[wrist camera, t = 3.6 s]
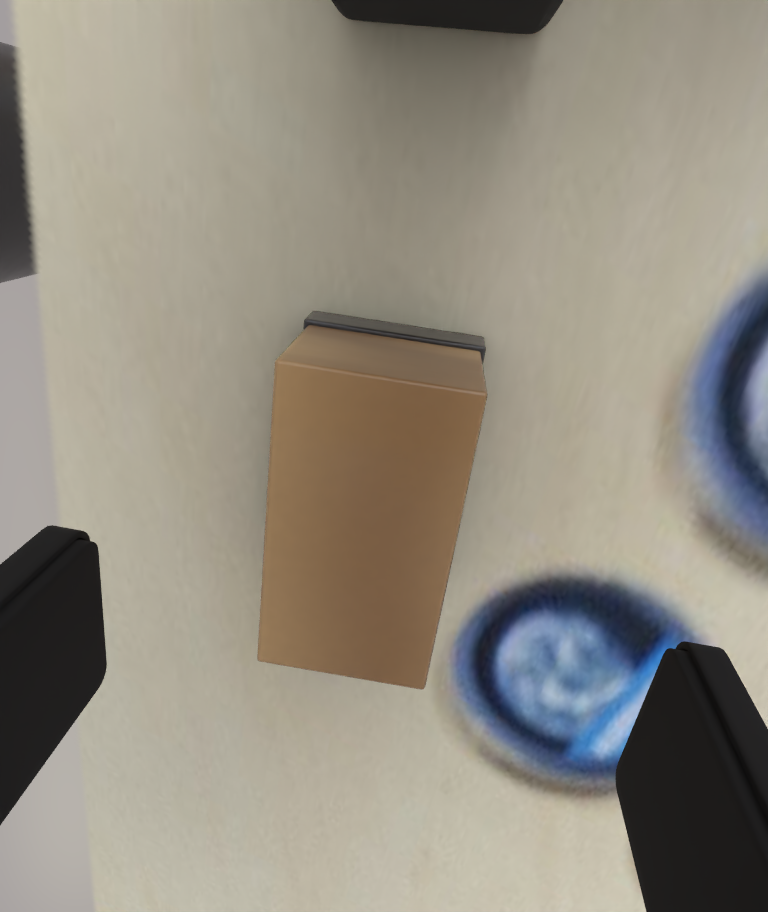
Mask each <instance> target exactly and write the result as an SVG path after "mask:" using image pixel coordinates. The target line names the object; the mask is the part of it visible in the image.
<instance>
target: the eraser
mask: <svg viewBox="0 0 768 912" xmlns="http://www.w3.org/2000/svg"><path fill="white" fill-rule="evenodd" d="M485 351H486V347H485V342H484V338H483V337H480V336H474V335H467V334H461V333H454V332H448V331H441V330H435V329H428V328H422V327H416V326H409V325H403V324H396V323H390V322H383V321H377V320H370V319H364V318H357V317H351V316H344V315H338V314H331V313H325V312H319V311H313V312H312V313H311V314H310V315H309V316H308V317H307V318H306V319H305V320H304V330H303V332H302V333H301V334H300V335H299V336H298V337H297V338H296V339H295V340H294V341H293V342H292V343H291V344H290V345H289V347H288V348H287V349H286V350H285V351H284V352H283V353H282V354H281V355H280V356H279V357H278V358H277V359H276V361H275V369H274V386H273V403H272V420H271V437H270V453H269V470H268V487H267V504H266V521H265V537H264V554H263V571H262V588H261V605H260V622H259V638H258V655H257V658H258V661H261V662H267V663H272V664H278V665H284V666H290V667H295V668H301V669H307V670H313V671H318V672H324V673H330V674H336V675H341V676H347V677H353V678H359V679H364V680H370V681H376V682H381V683H387V684H393V685H399V686H404V687H410V688H416V689H424V687H425V685H426V680H427V675H428V671H429V666H430V661H431V657H432V652H433V647H434V643H435V638H436V633H437V629H438V624H439V619H440V615H441V610H442V605H443V601H444V596H445V591H446V587H447V582H448V577H449V573H450V568H451V563H452V559H453V554H454V549H455V544H456V540H457V535H458V530H459V526H460V521H461V516H462V512H463V507H464V502H465V498H466V493H467V488H468V484H469V479H470V474H471V470H472V465H473V460H474V456H475V451H476V446H477V442H478V437H479V432H480V428H481V423H482V418H483V414H484V409H485V404H486V400H487V390H486V384H485V378H484V372H483V366H482V365H483V360H484V355H485Z"/></svg>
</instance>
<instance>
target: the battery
mask: <svg viewBox="0 0 768 912" xmlns="http://www.w3.org/2000/svg"><path fill="white" fill-rule="evenodd" d="M562 1H563V0H332V2H333V3H334V5H335V6H336V7H337V9H338V10H339V11H340V13H341V14H342V15H343V16H345V17H346V18H348V19H353V20H360V21H371V22H383V23H395V24H408V25H420V26H432V27H444V28H456V29H468V30H480V31H492V32H504V33H517V34H533V33H536V32H538V31H539V30H541V29H542V28H543V27H544V26H545V25H546V24H547V23H548V22H549V21H550V20H551V18H552V17H553V15H554V14H555V12H556V11H557V9H558V8H559V6H560V5H561V3H562Z"/></svg>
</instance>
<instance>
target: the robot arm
mask: <svg viewBox="0 0 768 912" xmlns="http://www.w3.org/2000/svg"><path fill="white" fill-rule="evenodd" d="M106 665H107V662H106V649H105V635H104V621H103V608H102V594H101V580H100V567H99V553H98V547H97V545H96V543H94V542H91V541H90V538H89V536H88V534H87V533H86V532H84V531H80V530H74V529H69V528H63V527H58V526H47V527H46V528H44V529H43V530H41V531H40V532H39V533H38V534H36V535H35V536H34V537H33V538H32V539H30V540H29V541H28V542H27V543H26V544H24V545H23V546H22V547H21V548H20V549H18V550H17V551H16V552H15V553H14V554H12V555H11V556H10V557H9V558H8V559H7V560H5V561H4V562H3V563H2V564H0V825H1V823H2V822H3V821H4V819H5V818H6V816H7V815H8V814H9V812H10V811H11V809H12V808H13V807H14V805H15V804H16V803H17V801H18V800H19V798H20V797H21V796H22V794H23V793H24V791H25V790H26V789H27V787H28V786H29V784H30V783H31V782H32V780H33V779H34V777H35V776H36V775H37V773H38V772H39V771H40V769H41V767H42V766H43V765H44V764H45V762H46V760H47V759H48V758H49V757H50V755H51V754H52V752H53V751H54V750H55V748H56V747H57V745H58V744H59V743H60V741H61V740H62V738H63V737H64V736H65V734H66V733H67V731H68V730H69V729H70V727H71V726H72V725H73V723H74V722H75V720H76V719H77V718H78V716H79V715H80V713H81V712H82V711H83V709H84V708H85V706H86V705H87V704H88V702H89V701H90V700H91V698H92V697H93V695H94V694H95V693H96V691H97V690H98V688H99V687H100V685H101V683H102V681H103V679H104V676H105V672H106ZM616 788H617V793H618V797H619V801H620V805H621V809H622V813H623V818H624V822H625V826H626V830H627V834H628V838H629V842H630V846H631V850H632V854H633V858H634V862H635V867H636V871H637V875H638V879H639V883H640V887H641V891H642V895H643V899H644V903H645V907H646V911H647V912H768V729H767V727H766V725H765V723H764V721H763V720H762V718H761V716H760V714H759V712H758V710H757V709H756V707H755V705H754V703H753V701H752V699H751V698H750V696H749V694H748V692H747V690H746V688H745V687H744V685H743V683H742V681H741V679H740V677H739V676H738V674H737V672H736V670H735V668H734V666H733V665H732V663H731V661H730V659H729V657H728V655H727V654H726V653H725V651H724V650H723V649H721V648H718V647H712V646H707V645H701V644H696V643H691V642H681V643H680V644H678V645H677V647H676V649H672V648H670V649H667V650H666V651H665V653H664V654H663V657H662V659H661V661H660V664H659V666H658V669H657V671H656V673H655V676H654V678H653V681H652V683H651V685H650V688H649V690H648V693H647V695H646V697H645V700H644V702H643V705H642V707H641V709H640V712H639V714H638V717H637V719H636V721H635V724H634V726H633V728H632V731H631V733H630V736H629V738H628V740H627V743H626V745H625V748H624V750H623V752H622V755H621V757H620V760H619V762H618V765H617V769H616Z"/></svg>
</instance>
